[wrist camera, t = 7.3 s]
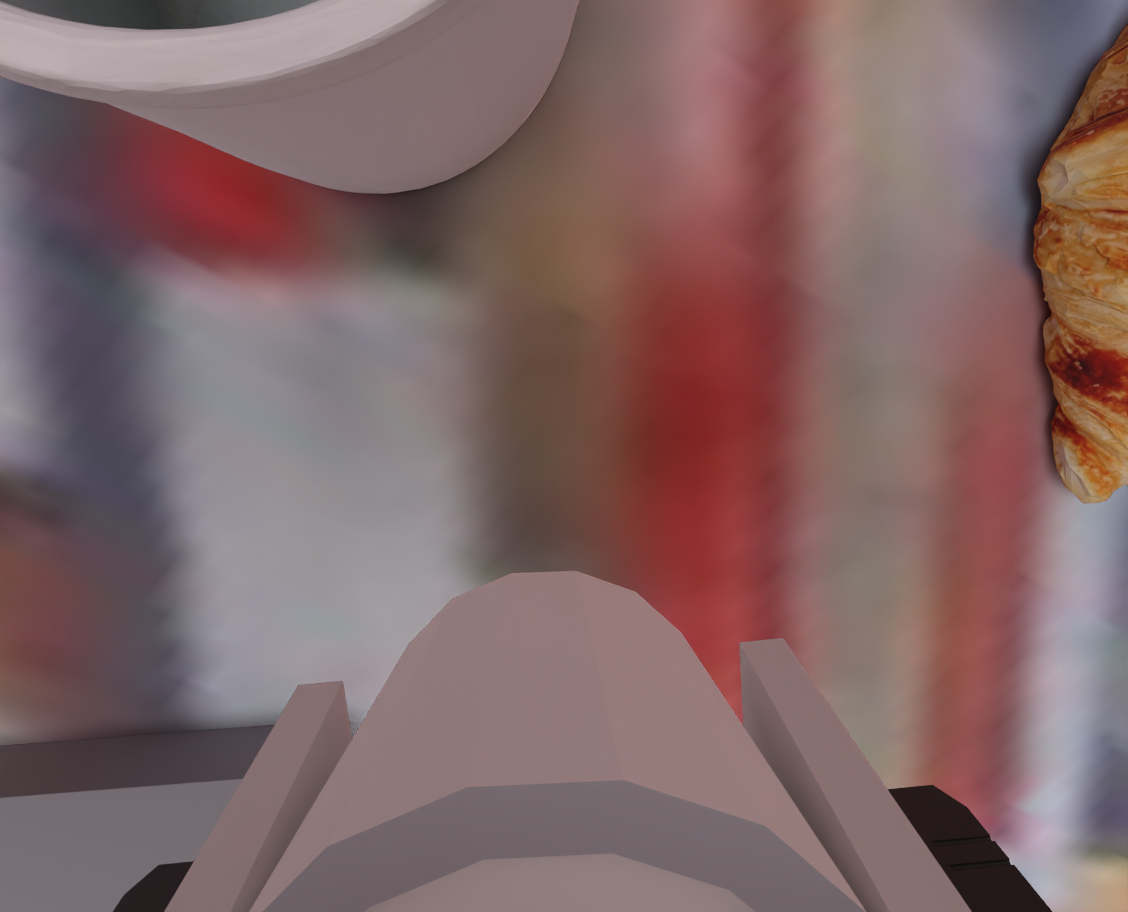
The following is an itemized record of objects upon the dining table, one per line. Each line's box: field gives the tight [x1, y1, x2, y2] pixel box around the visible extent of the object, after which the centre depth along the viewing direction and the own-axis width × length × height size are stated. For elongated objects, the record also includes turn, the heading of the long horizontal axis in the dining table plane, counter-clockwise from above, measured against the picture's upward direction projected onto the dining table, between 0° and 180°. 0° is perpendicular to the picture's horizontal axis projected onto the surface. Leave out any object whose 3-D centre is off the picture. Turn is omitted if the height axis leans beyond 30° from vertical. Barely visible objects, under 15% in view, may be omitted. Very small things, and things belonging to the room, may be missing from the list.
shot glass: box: [249, 571, 866, 912], centre depth 11 cm, size 7×7×7 cm
